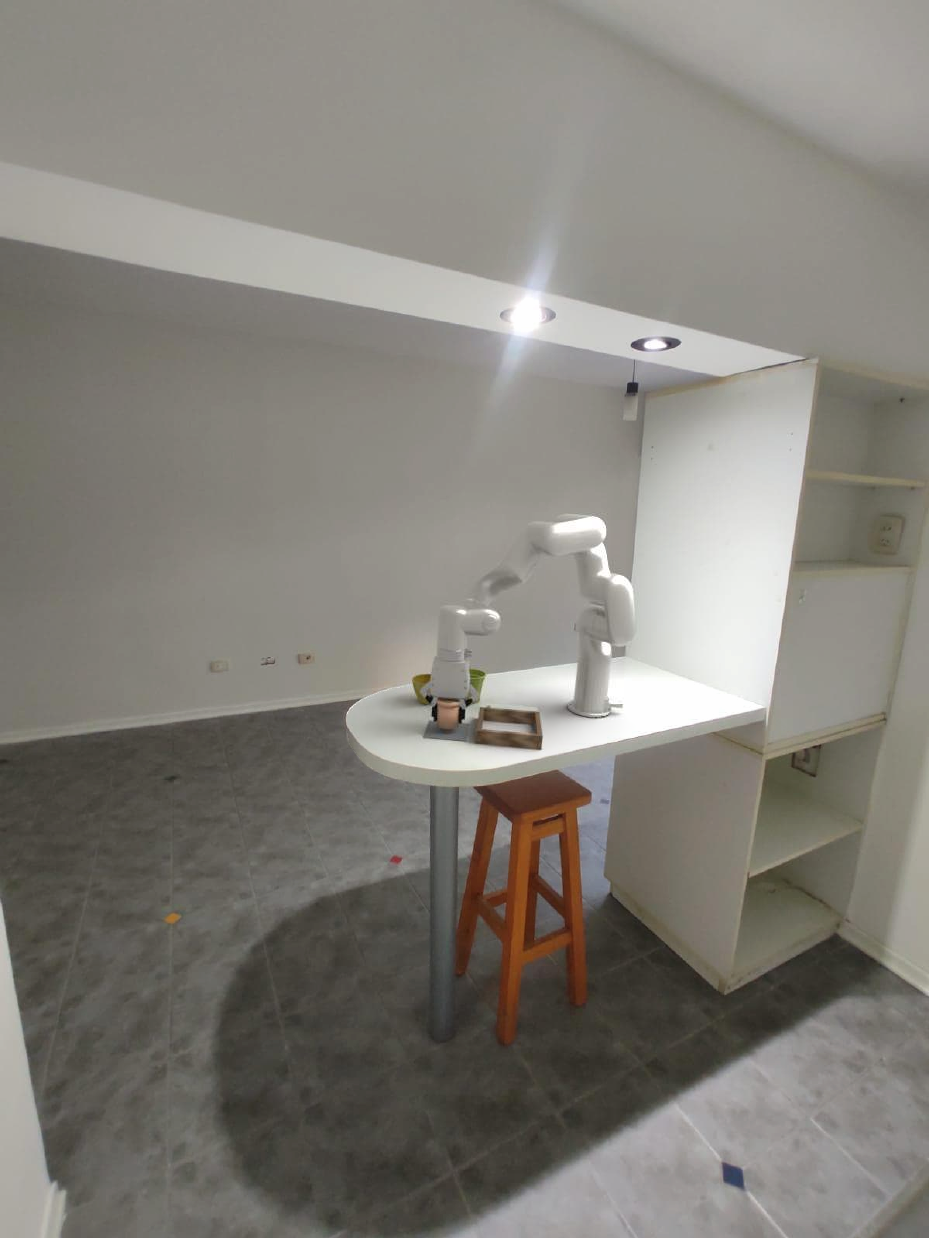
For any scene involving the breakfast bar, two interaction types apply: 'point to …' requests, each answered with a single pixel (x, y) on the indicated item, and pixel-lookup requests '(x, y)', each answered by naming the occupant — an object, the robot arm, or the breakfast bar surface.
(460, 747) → the breakfast bar surface
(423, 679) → the flower pot
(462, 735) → the slate mat
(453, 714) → the terracotta pot
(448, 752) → the breakfast bar surface
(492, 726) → the breakfast bar surface
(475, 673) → the plant pot
